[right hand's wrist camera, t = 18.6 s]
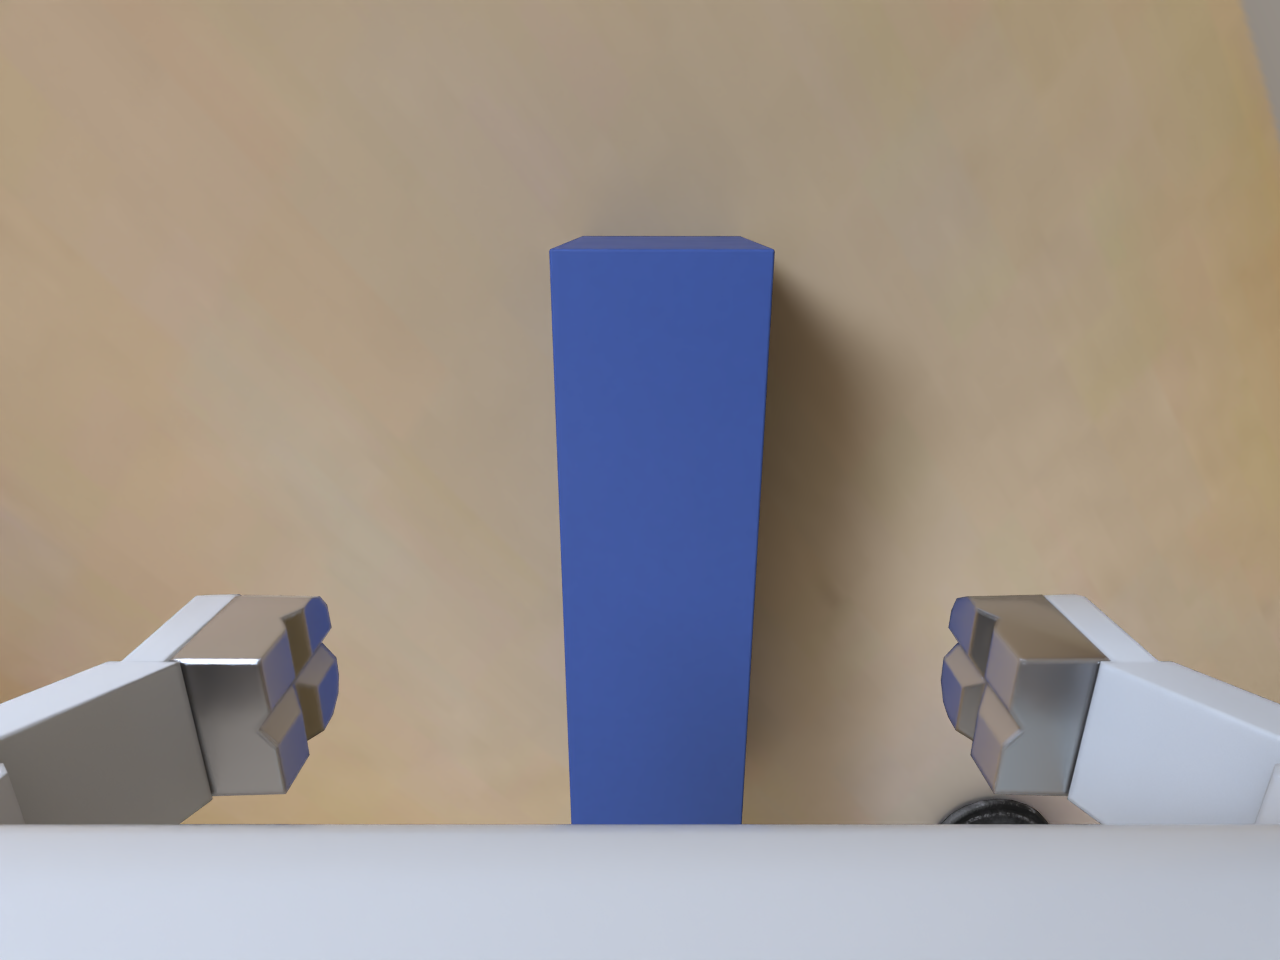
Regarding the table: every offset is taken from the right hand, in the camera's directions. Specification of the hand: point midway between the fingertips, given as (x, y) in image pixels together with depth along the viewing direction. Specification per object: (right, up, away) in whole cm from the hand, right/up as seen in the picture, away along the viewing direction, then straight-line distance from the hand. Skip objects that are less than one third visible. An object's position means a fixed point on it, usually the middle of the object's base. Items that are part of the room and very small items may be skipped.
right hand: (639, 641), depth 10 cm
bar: (+1, 0, +19) cm, 19 cm away
